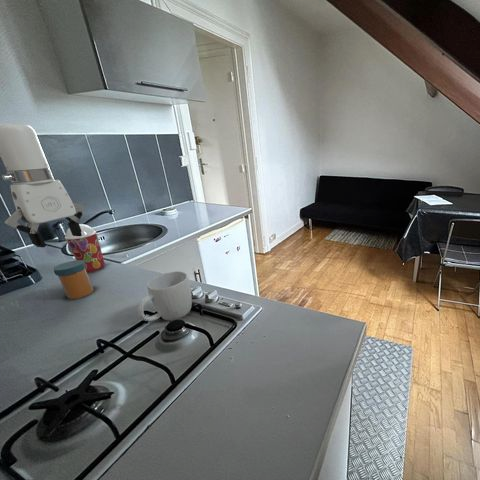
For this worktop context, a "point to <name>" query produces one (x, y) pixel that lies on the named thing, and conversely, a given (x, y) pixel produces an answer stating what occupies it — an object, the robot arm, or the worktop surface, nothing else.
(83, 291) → the jam jar
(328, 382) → the worktop surface
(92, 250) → the smoothie
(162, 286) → the mug
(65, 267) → the jar lid
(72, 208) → the robot arm
